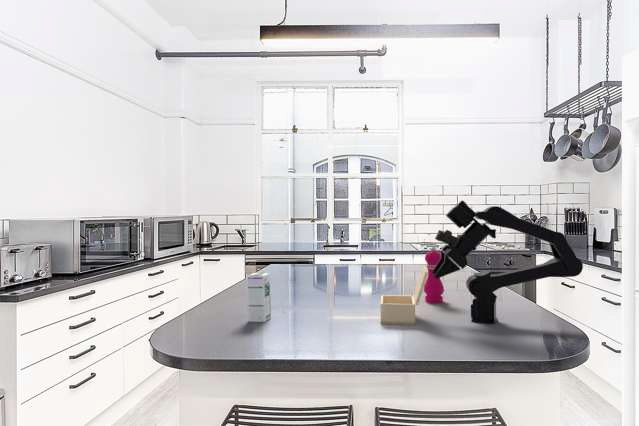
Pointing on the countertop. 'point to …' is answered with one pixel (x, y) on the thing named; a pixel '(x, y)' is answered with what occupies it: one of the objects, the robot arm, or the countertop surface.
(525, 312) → the countertop surface
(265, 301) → the syrup box
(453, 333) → the countertop surface
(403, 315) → the carton
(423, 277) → the lid
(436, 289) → the pepper mill
